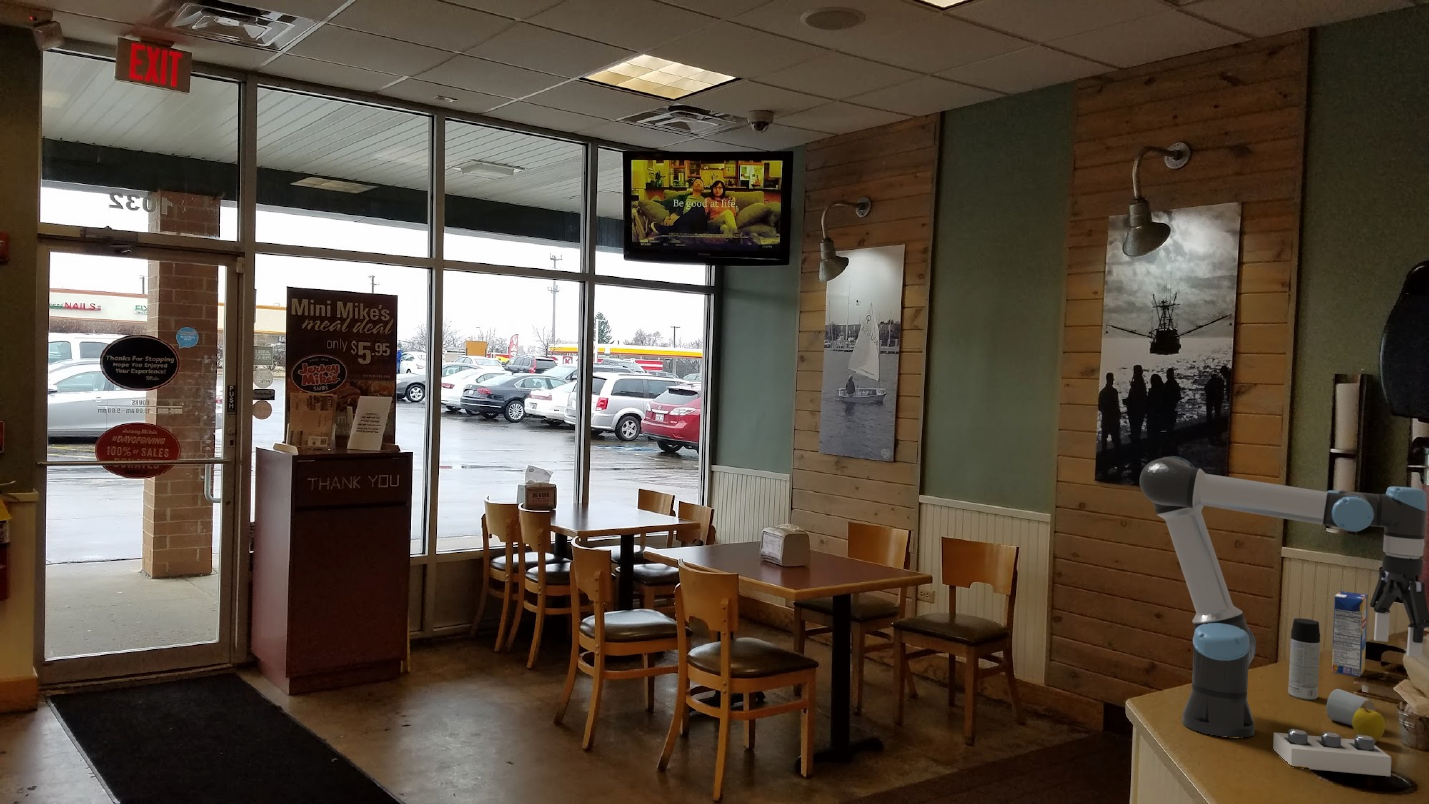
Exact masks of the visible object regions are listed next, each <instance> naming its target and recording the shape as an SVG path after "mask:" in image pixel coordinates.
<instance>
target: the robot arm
mask: <svg viewBox="0 0 1429 804" xmlns="http://www.w3.org/2000/svg"><path fill="white" fill-rule="evenodd" d="M1139 486H1140V489H1141V491H1142V493H1143V495H1144V496H1145V498H1147V499H1148V500H1150V501H1151V502H1152V505H1153V507H1154V511H1155V513H1156V515H1157V516H1158V517H1160V518H1161V519H1163V520H1164V521H1165V524H1166V527H1167V529H1168V530H1167V531H1168V532H1169V535H1170V538H1171V541H1172V545H1173V548H1174V550H1175V551H1174V552H1175V554H1176V557H1177V560H1178V562H1179V566H1180V568H1181V572H1182V574H1183V577H1184V581H1185V583H1186V587H1187V589H1188V592H1189V596H1190V598H1191V602H1192V604H1193V608H1194V610H1195V615H1194V617H1193V618H1192V620H1191V622H1192V624H1193V627H1194V628H1193V629H1194V632H1193V633H1194V634H1193V637H1192V644H1193V652H1192V653H1193V654H1192V677H1191V680H1192V681H1191V682H1192V683H1191V691H1190V695H1188V696H1189V697H1188V699H1187V702H1186V704H1185V707H1184V708H1183V711H1182V719H1181V720H1182V724H1183V725H1184V726H1185V727H1186V728H1188V729H1191V730H1192V731H1194V732H1197V731H1199V732H1198V733H1200V732H1201V733H1200V734H1203V733H1204V735H1207V734H1212V735H1217V736H1227V737H1239V738H1238V739H1242V738H1241V737H1249V736H1252V737H1254V735H1255V727H1256V726H1255V725H1256V724H1255V721H1254V717H1253V714H1252V711H1251V707H1250V705H1249V702H1248V690H1249V689H1248V688H1249V687H1248V686H1249V685H1248V684H1249V668H1250V667H1249V666H1250V664H1251V662H1252V661H1253V659H1254V657H1255V655H1256V651H1257V648H1256V647H1257V643H1256V638H1255V636H1254V634H1253V632H1252V630H1251V629H1250V628H1249V627H1248V624H1247V621H1246V618H1245V615H1244V613H1243V610H1241V609H1239V608H1238V607H1236V606H1235V605H1234V604H1233V601H1232V598H1231V596H1230V592H1229V589H1228V586H1227V584H1226V581H1225V578H1224V575H1223V571H1222V569H1221V566H1220V563H1219V560H1218V558H1217V557H1218V556H1217V555H1216V551H1215V548H1214V546H1213V542H1212V540H1211V536H1210V534H1209V531H1208V528H1207V526H1206V522H1205V519H1204V516H1203V513H1202V511H1203V508H1204V507H1211V508H1216V509H1217V508H1218V509H1222V510H1223V509H1225V510H1230V511H1235V512H1242V513H1247V514H1254V515H1260V516H1267V517H1271V518H1279V519H1286V520H1292V521H1296V522H1297V521H1298V522H1303V523H1308V524H1309V523H1311V524H1316V525H1323V526H1328V527H1333V528H1338V529H1342V530H1343V531H1347V532H1360V531H1364V530H1365V529H1366V528H1368V527H1378V528H1384V532H1383V533H1384V534H1383V547H1382V552H1384V554H1383V555H1382V565H1381V568H1382V570H1380V571H1379V573H1378V580H1377V584H1376V586H1375V589H1374V590H1373V594H1372V597H1371V599H1370V602H1369V603H1370V604H1369V606H1370V608H1373V611H1374V612H1375V616H1374V618H1375V619H1374V632H1373V633H1374V634H1373V635H1374V636H1373V641H1375V642H1389V633H1390V631H1389V630H1390V618H1391V617H1390V616H1391V614H1390V613H1391V607H1392V606H1393V604H1394V602H1395V601H1396V599H1397V598H1399V600H1400V601H1402V603H1403V606H1404V609H1405V611H1406V614H1407V618H1408V620H1409V624H1408V625H1407V627H1408V628H1407V630H1408V631H1407V632H1408V633H1407V641H1406V642H1407V645H1406V656H1407V657H1409V658H1411V657H1412V658H1421V659H1422V658H1423V647H1424V646H1423V645H1424V644H1423V643H1424V632H1425V631H1424V630H1425V629H1426V628H1429V606H1428V602H1427V597H1426V585H1425V582H1423V581H1417V580H1416V577H1417V576H1421V575H1422V574H1423V566H1424V560H1423V558H1421V557H1422V556H1424V547H1425V545H1426V543H1425V533H1426V523H1427V522H1426V521H1427V493H1426V492H1425V491H1424V490H1423V489H1421V488H1417V487H1408V486H1389V487H1387V489H1386V492H1385V493H1382V494H1380V493H1376V494H1375V493H1368V492H1359V491H1350V490H1349V491H1348V490H1343V489H1341V490H1334V489H1333V490H1331V489H1330V490H1327V491H1323V490H1316V489H1311V488H1310V489H1308V488H1302V487H1296V486H1289V485H1283V484H1277V483H1276V484H1275V483H1270V482H1263V481H1258V480H1257V481H1256V480H1250V479H1245V478H1243V479H1242V478H1238V477H1236V478H1235V477H1231V476H1223V475H1216V474H1211V473H1210V474H1209V473H1206V472H1205V471H1204V470H1203V469H1202V468H1199V467H1198V468H1197V467H1195V466H1194V465H1193V464H1192V463H1191V462H1190V461H1188V460H1187V459H1185V458H1183V457H1180V456H1174V455H1169V456H1163V457H1160V458H1158V459H1154V460H1152V461H1150V462H1148V463H1147V464H1146V465H1145V466H1144V467H1143V469H1142V471H1141V473H1140V475H1139ZM1212 735H1211V736H1212ZM1217 736H1216V737H1217ZM1249 738H1250V737H1249Z"/></svg>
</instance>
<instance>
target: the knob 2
mask: <svg viewBox="0 0 1429 804" xmlns="http://www.w3.org/2000/svg"><path fill="white" fill-rule="evenodd" d="M1353 739H1354V748H1356V749H1357V750H1362V751H1373V752H1374V746H1376V745H1375V743H1376V742H1375V739H1373V738H1372V737H1369V736H1366V735H1354V738H1353Z"/></svg>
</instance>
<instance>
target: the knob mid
mask: <svg viewBox="0 0 1429 804" xmlns="http://www.w3.org/2000/svg"><path fill="white" fill-rule="evenodd" d="M1320 737H1321V745H1322V746H1323V747H1328V748H1340V749H1341V738H1342V736H1341V735H1340V734H1338V733H1335V732H1332V731H1323V732H1321V736H1320Z"/></svg>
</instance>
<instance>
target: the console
mask: <svg viewBox="0 0 1429 804" xmlns="http://www.w3.org/2000/svg"><path fill="white" fill-rule="evenodd" d="M1272 747H1273V748H1272V750H1273V749H1274V751H1276V752H1277V753H1278V754H1279V755H1280V756H1281V757H1282V758H1283V759H1284V760H1285V761H1287V762H1288V764H1290V765H1292V766H1302V767H1308V768H1309V769H1308V770H1315V771H1330V772H1339V773H1348V774H1349V773H1350V774H1359V775H1360V774H1361V775H1370V776H1382V777H1383V776H1385V777H1392V776H1391V775H1392V773H1391V772H1392V756H1390V755H1389V754H1388V753H1386V752H1385V751H1384V750H1382V749H1381V748H1379V747H1378V746H1377V745H1375V746H1374V752H1373V751H1362V750H1357V749H1356V748H1354V738H1353V739H1352V738H1342V737H1341V749H1340V748H1328V747H1323V746H1322V745H1321V736H1317V735H1308V743H1307V746H1306V745H1294V744H1290V743H1289V742H1288V733H1283V732H1273V745H1272ZM1274 751H1273V752H1274ZM1280 756H1279V757H1280ZM1281 757H1280V758H1281ZM1282 758H1281V759H1282ZM1283 759H1282V760H1283ZM1284 760H1283V761H1284ZM1285 761H1284V762H1285ZM1288 764H1287V765H1288Z"/></svg>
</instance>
